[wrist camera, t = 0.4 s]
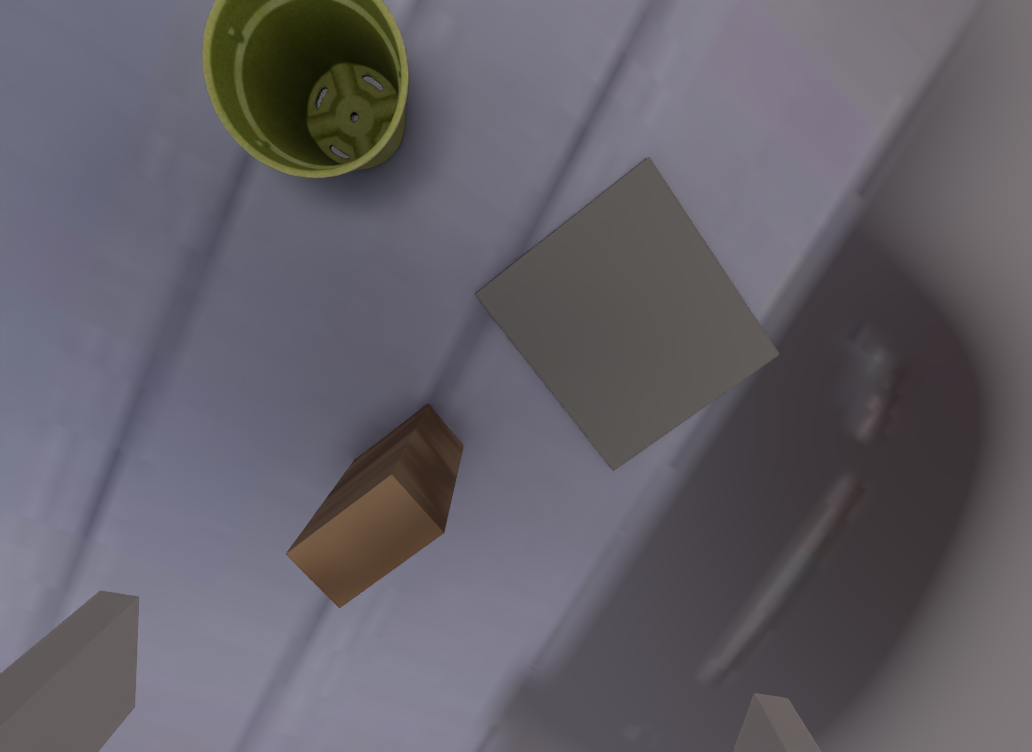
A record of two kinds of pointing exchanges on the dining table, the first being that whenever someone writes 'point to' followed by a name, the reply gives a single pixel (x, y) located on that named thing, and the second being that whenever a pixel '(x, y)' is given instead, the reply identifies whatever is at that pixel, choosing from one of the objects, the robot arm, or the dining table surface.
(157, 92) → the dining table surface
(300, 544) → the walnut block
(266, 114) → the plant pot
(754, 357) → the rubber mat
